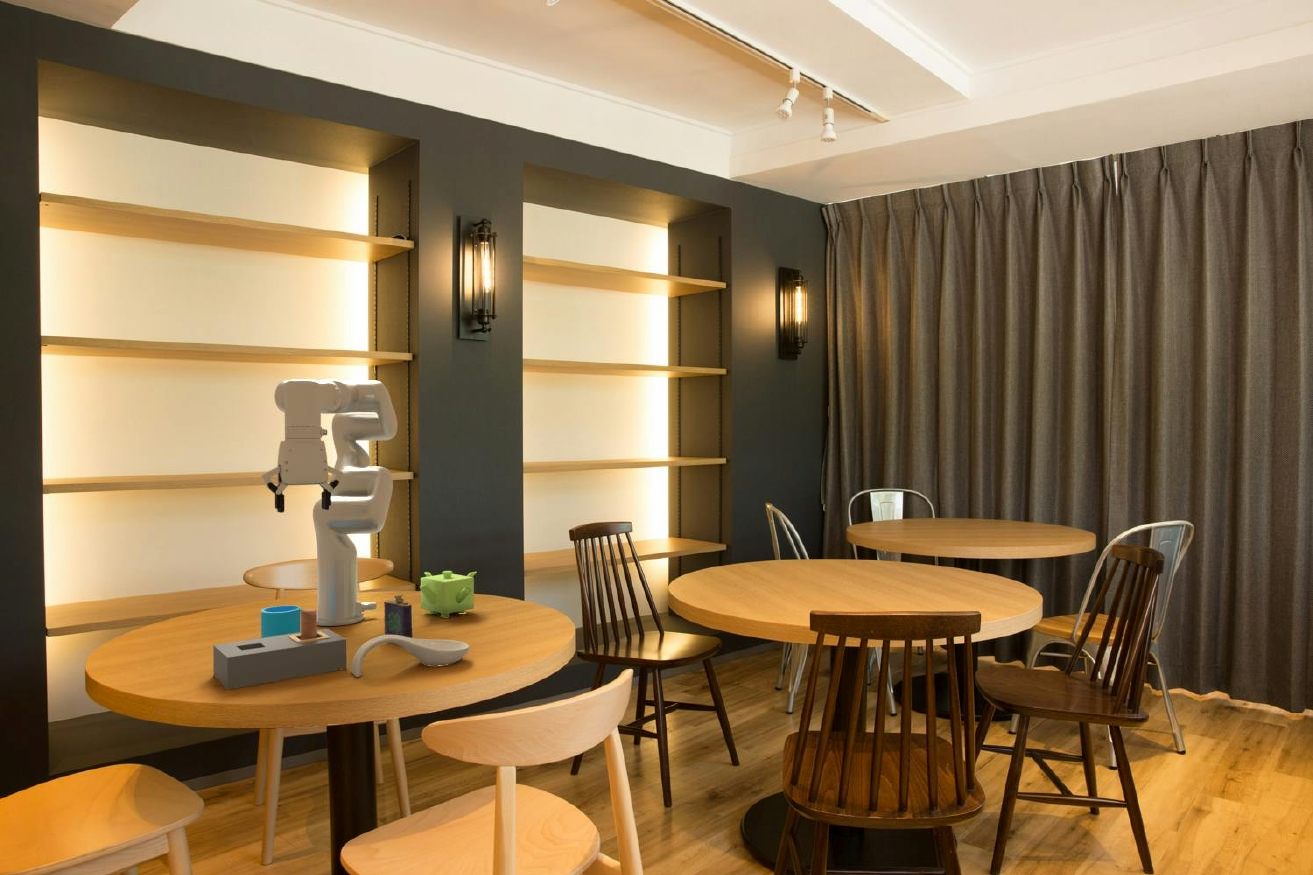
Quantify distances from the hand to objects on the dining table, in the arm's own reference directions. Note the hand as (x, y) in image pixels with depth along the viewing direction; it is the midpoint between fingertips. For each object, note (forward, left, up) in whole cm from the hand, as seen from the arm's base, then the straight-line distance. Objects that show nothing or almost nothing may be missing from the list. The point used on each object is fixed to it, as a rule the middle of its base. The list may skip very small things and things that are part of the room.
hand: (303, 510), depth 191 cm
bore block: (+10, +19, -30) cm, 37 cm away
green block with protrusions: (-40, -11, -31) cm, 52 cm away
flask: (-18, +10, -31) cm, 37 cm away
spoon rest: (-12, +32, -31) cm, 46 cm away
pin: (+5, +19, -29) cm, 35 cm away
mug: (+2, -4, -31) cm, 31 cm away
